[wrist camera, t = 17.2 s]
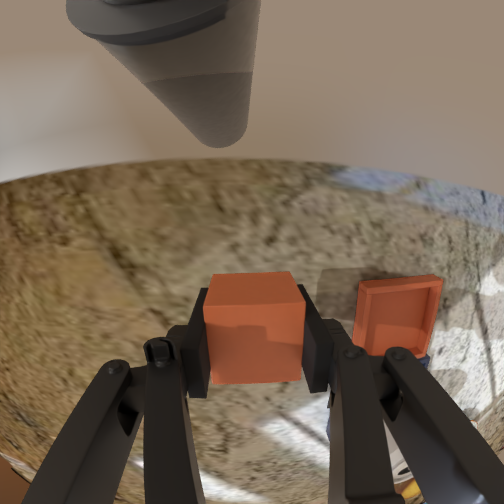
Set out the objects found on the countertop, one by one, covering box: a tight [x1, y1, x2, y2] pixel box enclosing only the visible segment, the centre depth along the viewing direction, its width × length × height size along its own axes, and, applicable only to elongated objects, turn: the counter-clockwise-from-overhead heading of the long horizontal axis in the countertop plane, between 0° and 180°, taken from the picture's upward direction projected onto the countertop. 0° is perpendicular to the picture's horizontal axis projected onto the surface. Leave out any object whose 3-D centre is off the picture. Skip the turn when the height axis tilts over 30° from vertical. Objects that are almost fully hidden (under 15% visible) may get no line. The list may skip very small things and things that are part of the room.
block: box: [203, 272, 306, 384], centre depth 15 cm, size 5×5×5 cm
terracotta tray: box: [352, 274, 443, 359], centre depth 24 cm, size 9×9×2 cm
